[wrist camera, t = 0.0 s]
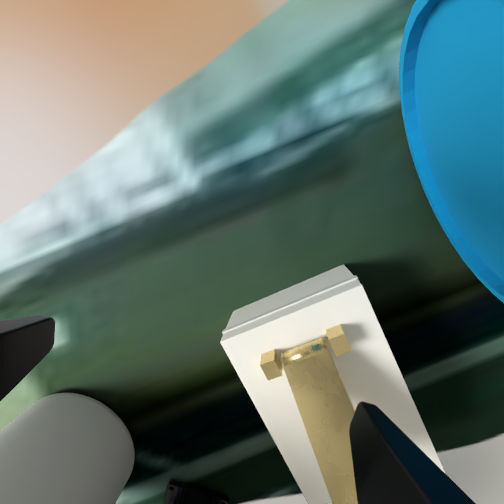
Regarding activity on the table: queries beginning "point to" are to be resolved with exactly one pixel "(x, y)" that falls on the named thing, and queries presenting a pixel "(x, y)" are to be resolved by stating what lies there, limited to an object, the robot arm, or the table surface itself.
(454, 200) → the alarm clock
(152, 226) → the table surface
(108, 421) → the cylinder vase
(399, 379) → the box
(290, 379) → the brass clasp lever
